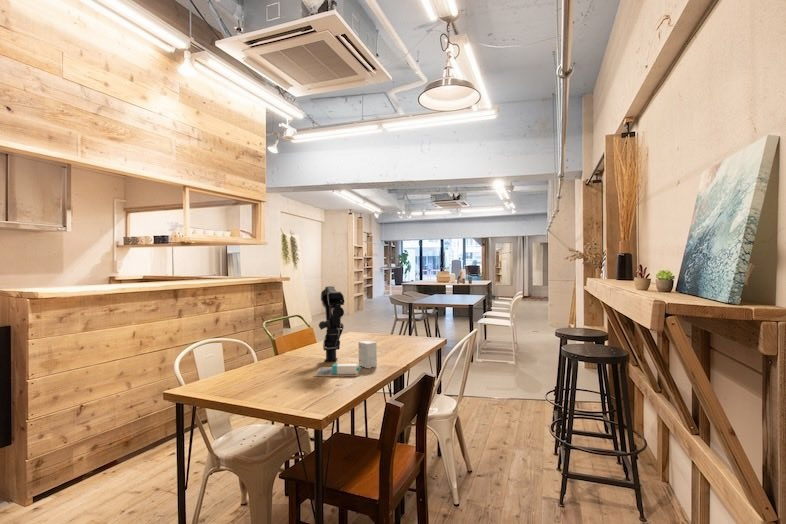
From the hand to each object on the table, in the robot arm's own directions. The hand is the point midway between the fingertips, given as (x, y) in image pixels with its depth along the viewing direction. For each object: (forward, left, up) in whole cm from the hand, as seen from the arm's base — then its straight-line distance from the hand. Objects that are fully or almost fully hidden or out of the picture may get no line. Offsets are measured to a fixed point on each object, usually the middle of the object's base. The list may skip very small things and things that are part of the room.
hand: (335, 344), depth 225 cm
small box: (-1, +17, -12) cm, 21 cm away
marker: (+14, +7, -11) cm, 19 cm away
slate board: (+11, +3, -12) cm, 16 cm away
